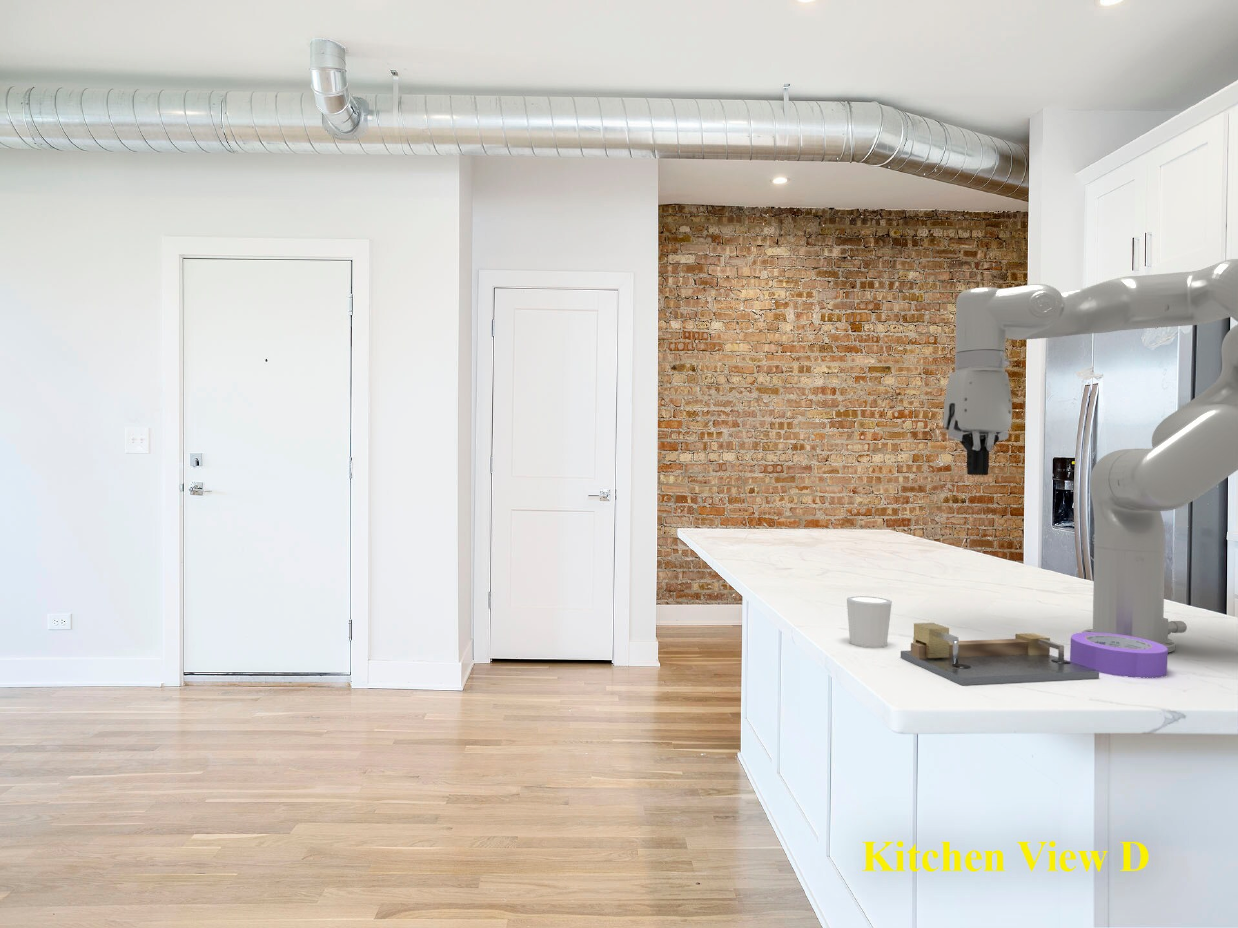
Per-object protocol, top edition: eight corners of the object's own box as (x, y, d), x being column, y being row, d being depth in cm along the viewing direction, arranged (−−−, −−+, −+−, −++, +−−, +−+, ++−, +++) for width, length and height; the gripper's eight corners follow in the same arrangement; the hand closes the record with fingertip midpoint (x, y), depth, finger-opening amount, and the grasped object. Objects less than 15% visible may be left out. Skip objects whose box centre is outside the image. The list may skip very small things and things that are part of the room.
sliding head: (932, 650, 112) (933, 622, 112) (967, 664, 104) (967, 634, 104) (913, 651, 111) (913, 623, 111) (946, 665, 103) (947, 635, 103)
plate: (1023, 652, 117) (1023, 645, 117) (1098, 678, 103) (1099, 670, 103) (900, 657, 112) (900, 650, 112) (962, 685, 99) (962, 677, 99)
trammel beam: (1033, 648, 115) (1033, 633, 115) (1072, 661, 108) (1072, 644, 107) (908, 653, 110) (908, 637, 110) (940, 667, 103) (940, 650, 103)
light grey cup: (894, 649, 117) (895, 604, 117) (847, 646, 118) (848, 602, 118) (887, 639, 124) (888, 596, 124) (843, 637, 125) (844, 594, 125)
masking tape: (1188, 678, 105) (1189, 650, 105) (1113, 680, 103) (1114, 652, 103) (1120, 656, 116) (1120, 631, 116) (1051, 658, 114) (1052, 632, 114)
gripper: (1003, 368, 131) (1000, 475, 131) (925, 365, 128) (923, 473, 128) (1035, 363, 124) (1033, 476, 124) (954, 359, 121) (952, 474, 121)
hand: (977, 474), depth 126 cm, fingers closed
